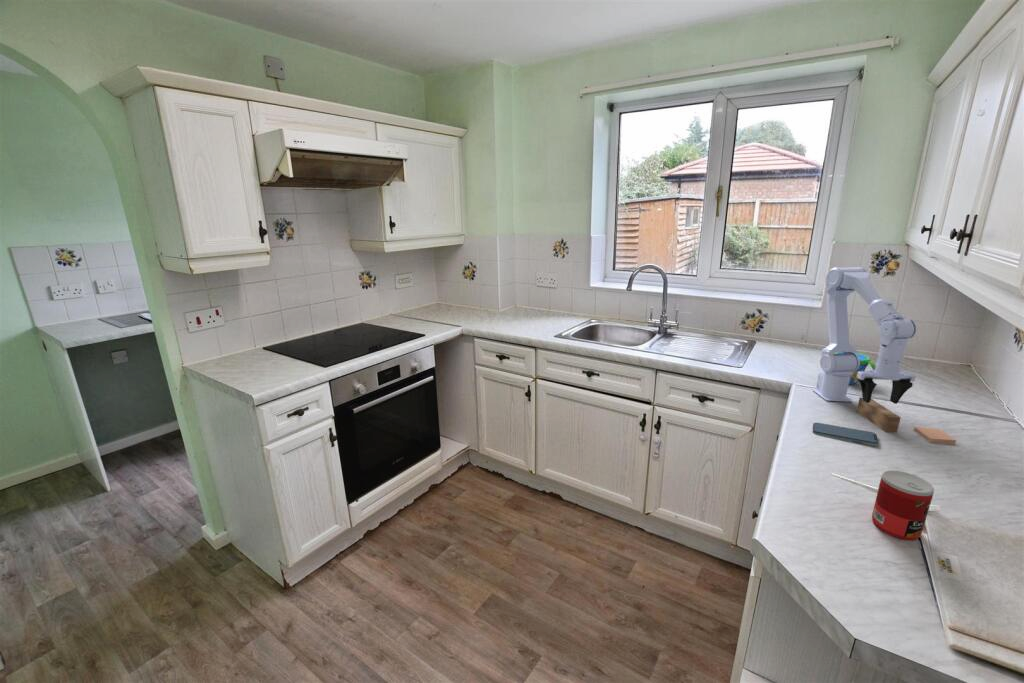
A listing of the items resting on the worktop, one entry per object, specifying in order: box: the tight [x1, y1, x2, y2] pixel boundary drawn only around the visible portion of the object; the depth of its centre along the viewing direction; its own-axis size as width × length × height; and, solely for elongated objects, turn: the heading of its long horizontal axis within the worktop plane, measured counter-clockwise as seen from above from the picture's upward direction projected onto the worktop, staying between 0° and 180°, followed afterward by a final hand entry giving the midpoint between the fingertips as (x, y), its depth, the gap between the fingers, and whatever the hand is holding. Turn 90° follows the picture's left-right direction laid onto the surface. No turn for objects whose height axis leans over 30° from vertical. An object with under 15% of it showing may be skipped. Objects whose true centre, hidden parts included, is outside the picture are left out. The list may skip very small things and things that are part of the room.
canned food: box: [871, 470, 935, 541], centre depth 91 cm, size 8×8×11 cm
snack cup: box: [834, 352, 876, 385], centre depth 168 cm, size 16×10×10 cm
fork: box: [830, 473, 941, 512], centre depth 104 cm, size 3×20×2 cm, turn 38°
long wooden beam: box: [856, 396, 901, 433], centre depth 137 cm, size 14×3×5 cm, turn 173°
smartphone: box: [812, 422, 879, 447], centre depth 130 cm, size 8×2×15 cm
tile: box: [913, 426, 957, 445], centre depth 128 cm, size 2×6×7 cm
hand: (879, 401), depth 136 cm, fingers open, 7 cm apart
